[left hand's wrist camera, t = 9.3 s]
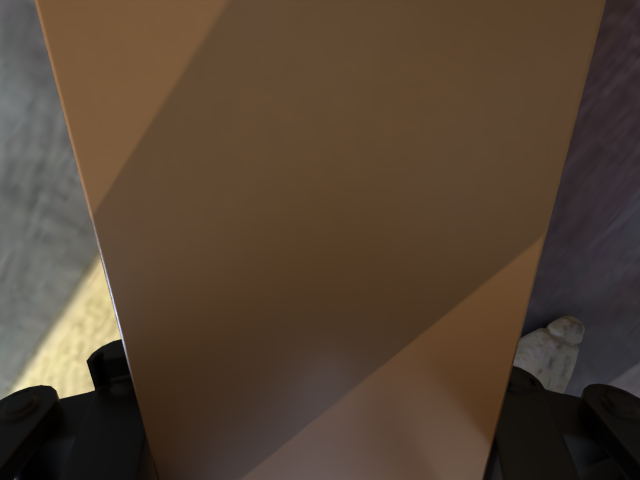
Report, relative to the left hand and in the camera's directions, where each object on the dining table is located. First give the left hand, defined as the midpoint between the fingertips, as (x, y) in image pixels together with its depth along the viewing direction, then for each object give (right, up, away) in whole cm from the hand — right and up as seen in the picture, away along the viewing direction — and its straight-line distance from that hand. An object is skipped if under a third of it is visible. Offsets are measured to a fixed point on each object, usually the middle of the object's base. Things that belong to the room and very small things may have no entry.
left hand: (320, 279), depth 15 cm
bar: (0, +10, -3) cm, 11 cm away
